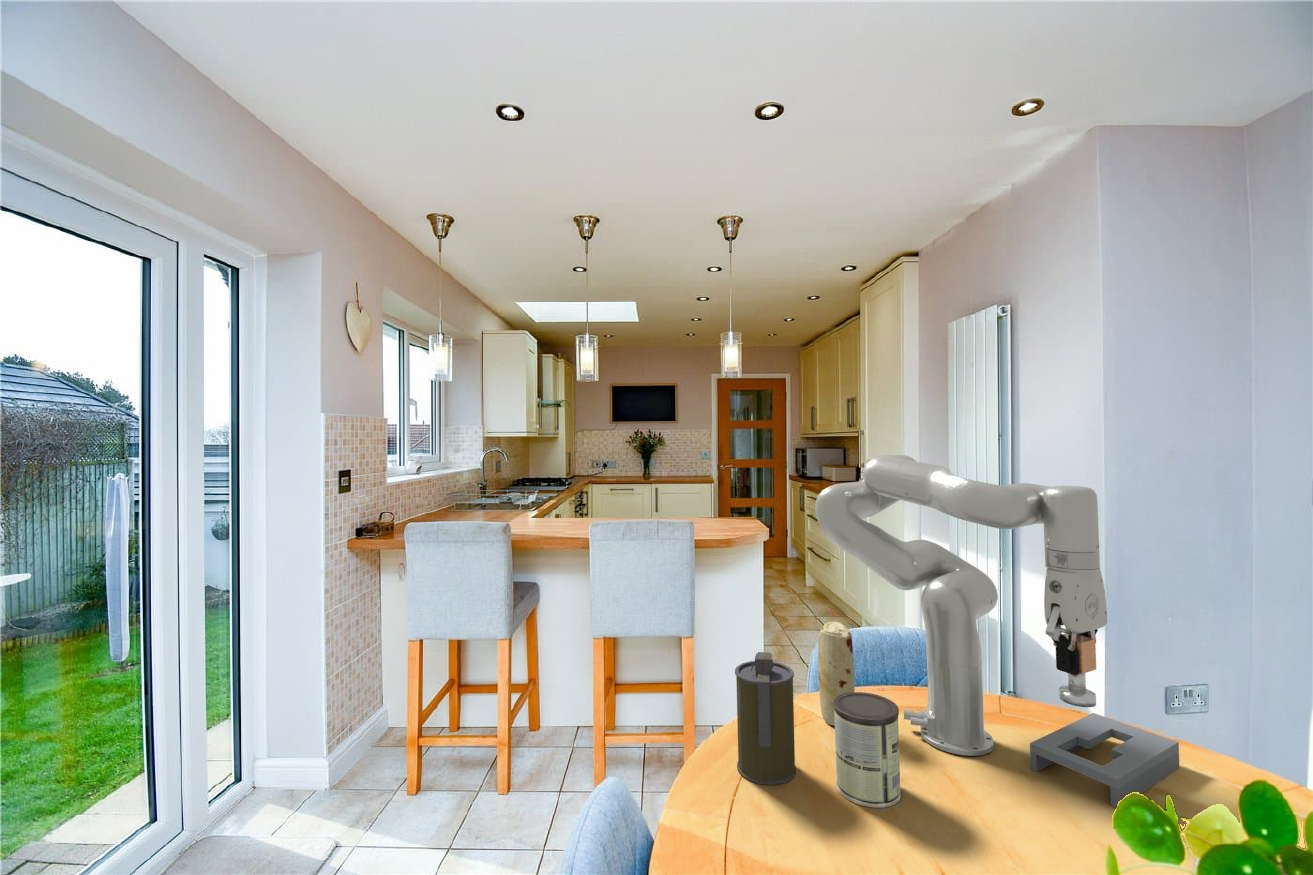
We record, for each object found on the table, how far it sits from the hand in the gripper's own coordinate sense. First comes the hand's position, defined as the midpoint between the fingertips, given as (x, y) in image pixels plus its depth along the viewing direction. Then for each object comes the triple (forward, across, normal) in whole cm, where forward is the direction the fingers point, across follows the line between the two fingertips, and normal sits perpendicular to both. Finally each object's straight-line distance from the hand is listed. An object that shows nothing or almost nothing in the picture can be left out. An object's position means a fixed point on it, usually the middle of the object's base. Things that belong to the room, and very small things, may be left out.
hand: (1075, 668), depth 97 cm
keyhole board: (+19, +9, +1) cm, 21 cm away
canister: (+19, -43, +28) cm, 55 cm away
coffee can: (+19, -32, +15) cm, 41 cm away
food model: (+19, -19, +36) cm, 45 cm away
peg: (+5, 0, 0) cm, 5 cm away
